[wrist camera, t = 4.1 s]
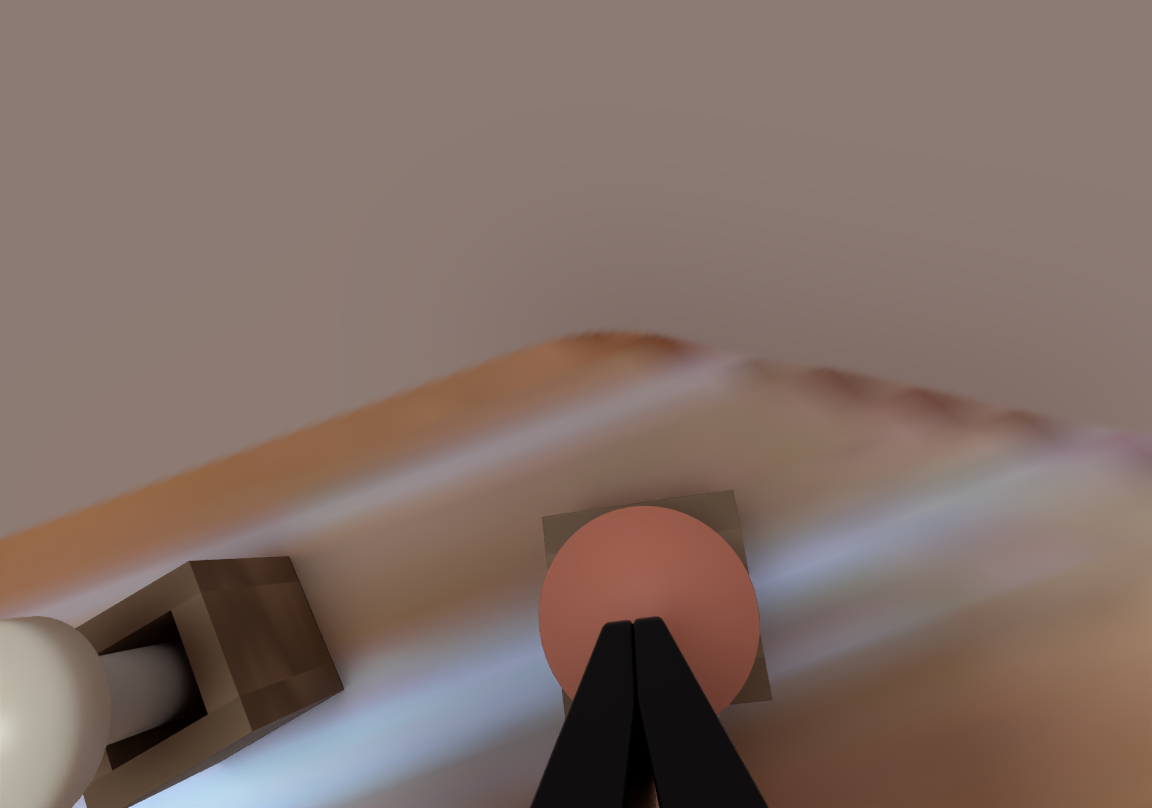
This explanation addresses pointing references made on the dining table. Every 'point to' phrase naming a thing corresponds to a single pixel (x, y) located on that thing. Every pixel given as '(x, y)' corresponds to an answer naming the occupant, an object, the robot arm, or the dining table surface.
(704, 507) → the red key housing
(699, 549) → the red rounded knob
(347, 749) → the dining table surface
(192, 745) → the ivory key housing
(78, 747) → the ivory key
